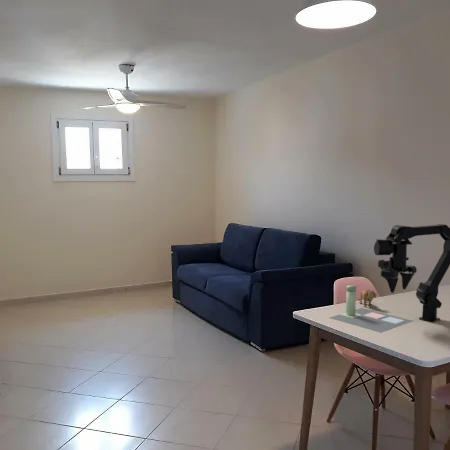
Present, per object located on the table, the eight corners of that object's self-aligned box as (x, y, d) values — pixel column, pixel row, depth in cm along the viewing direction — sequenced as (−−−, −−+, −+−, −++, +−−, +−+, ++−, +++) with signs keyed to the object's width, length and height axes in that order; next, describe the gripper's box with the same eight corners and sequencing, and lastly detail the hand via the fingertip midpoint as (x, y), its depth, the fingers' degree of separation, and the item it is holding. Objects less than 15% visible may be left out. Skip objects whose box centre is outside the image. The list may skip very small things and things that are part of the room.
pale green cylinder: (351, 312, 214) (352, 284, 212) (357, 315, 210) (358, 286, 209) (344, 313, 212) (344, 285, 211) (349, 316, 208) (350, 287, 207)
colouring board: (361, 308, 222) (361, 307, 222) (413, 321, 202) (413, 320, 202) (328, 318, 207) (328, 317, 207) (381, 333, 187) (381, 332, 187)
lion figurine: (378, 308, 222) (378, 290, 221) (367, 309, 221) (368, 290, 220) (363, 300, 236) (364, 283, 235) (353, 301, 235) (354, 283, 234)
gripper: (394, 250, 212) (393, 284, 214) (370, 254, 201) (369, 290, 202) (417, 253, 204) (416, 289, 205) (393, 258, 192) (392, 295, 194)
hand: (398, 290), depth 202 cm, fingers open, 9 cm apart
